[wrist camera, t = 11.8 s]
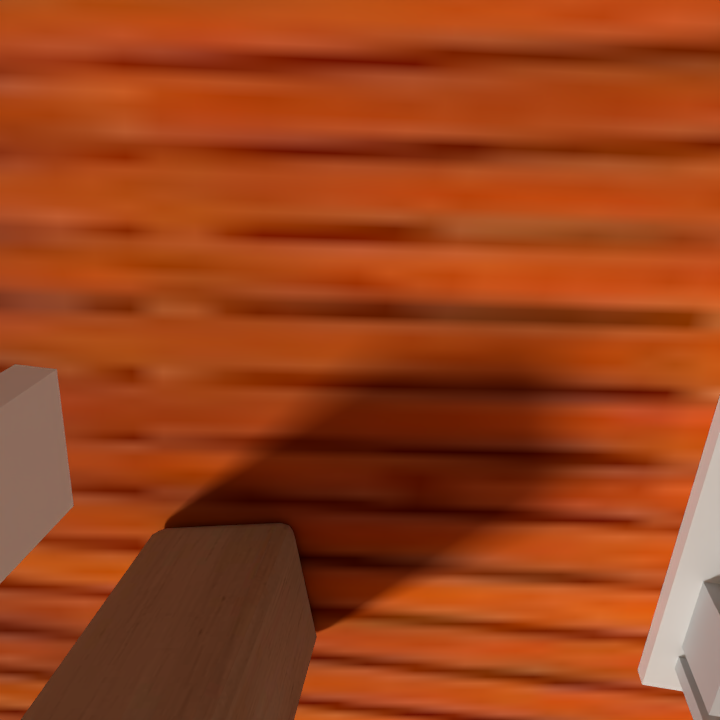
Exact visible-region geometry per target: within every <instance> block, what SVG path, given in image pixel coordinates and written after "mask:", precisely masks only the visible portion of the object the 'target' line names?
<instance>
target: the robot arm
mask: <svg viewBox="0 0 720 720" xmlns="http://www.w3.org/2000/svg"><path fill="white" fill-rule="evenodd" d="M73 506H74V505H73V497H72V489H71V481H70V473H69V465H68V457H67V449H66V441H65V433H64V424H63V416H62V408H61V400H60V392H59V384H58V376H57V369H50V368H41V367H32V366H24V365H13V366H11V367H10V368H8V369H7V370H5V371H3V372H2V373H0V583H1V582H2V581H3V580H4V579H5V578H6V577H7V576H8V575H9V574H10V573H11V572H12V570H13V569H14V568H15V567H16V566H17V565H18V564H19V563H20V562H21V561H22V560H23V559H24V558H25V557H26V556H27V555H28V554H29V552H30V551H31V550H32V549H33V548H34V547H35V546H36V545H37V544H38V543H39V542H40V541H41V540H42V539H43V538H44V537H45V536H46V535H47V533H48V532H49V531H50V530H51V529H52V528H53V527H54V526H55V525H56V524H57V523H58V522H59V521H60V520H61V519H62V518H63V517H64V515H65V514H66V513H67V512H68V511H69V510H70V509H71V508H72V507H73Z"/></svg>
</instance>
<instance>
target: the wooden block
mask: <svg viewBox="0 0 720 720" xmlns="http://www.w3.org/2000/svg"><path fill="white" fill-rule="evenodd" d="M315 640H316V632H315V628H314V623H313V618H312V614H311V609H310V605H309V600H308V595H307V591H306V586H305V581H304V577H303V572H302V568H301V563H300V558H299V554H298V549H297V545H296V540H295V536H294V533H293V530H292V529H291V527H290V526H289V525H286V524H283V523H266V524H245V525H224V526H203V527H181V528H166V529H163V530H161V531H158V532H156V533H155V534H153V535H152V536H151V538H150V539H149V540H148V542H147V543H146V545H145V546H144V547H143V549H142V550H141V552H140V553H139V554H138V556H137V557H136V559H135V560H134V561H133V563H132V564H131V566H130V567H129V568H128V570H127V571H126V573H125V574H124V575H123V577H122V578H121V580H120V581H119V583H118V584H117V585H116V587H115V588H114V590H113V591H112V592H111V594H110V595H109V597H108V598H107V599H106V601H105V602H104V604H103V605H102V606H101V608H100V609H99V611H98V612H97V613H96V615H95V616H94V618H93V619H92V620H91V622H90V623H89V625H88V626H87V628H86V629H85V630H84V632H83V633H82V635H81V636H80V637H79V639H78V640H77V642H76V643H75V644H74V646H73V647H72V649H71V650H70V651H69V653H68V654H67V656H66V657H65V658H64V660H63V661H62V663H61V664H60V665H59V667H58V668H57V670H56V671H55V673H54V674H53V675H52V677H51V678H50V680H49V681H48V682H47V684H46V685H45V687H44V688H43V689H42V691H41V692H40V694H39V695H38V696H37V698H36V699H35V701H34V702H33V703H32V705H31V706H30V708H29V709H28V710H27V712H26V713H25V715H24V716H23V718H22V719H21V720H294V717H295V714H296V710H297V706H298V703H299V699H300V695H301V692H302V688H303V684H304V681H305V677H306V673H307V670H308V666H309V662H310V659H311V655H312V651H313V648H314V644H315Z"/></svg>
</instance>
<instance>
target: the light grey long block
mask: <svg viewBox="0 0 720 720" xmlns="http://www.w3.org/2000/svg"><path fill="white" fill-rule="evenodd" d="M638 673H639V676H640V679H641V683H642V685H648V686H654V687H660V688H666V689H672V690H678V691H683V693H684V695H685V698H686V701H687V704H688V706H689V709H690V712H691V715H692V717H693V720H720V397H719V400H718V404H717V407H716V410H715V414H714V417H713V420H712V424H711V427H710V430H709V434H708V437H707V440H706V444H705V447H704V450H703V454H702V457H701V460H700V464H699V467H698V470H697V474H696V477H695V480H694V484H693V487H692V490H691V494H690V497H689V500H688V504H687V507H686V510H685V514H684V517H683V520H682V524H681V527H680V530H679V534H678V537H677V540H676V544H675V547H674V550H673V554H672V557H671V560H670V564H669V567H668V570H667V574H666V577H665V580H664V584H663V587H662V590H661V594H660V597H659V600H658V604H657V607H656V610H655V614H654V617H653V620H652V624H651V627H650V630H649V634H648V637H647V640H646V644H645V647H644V650H643V654H642V657H641V660H640V664H639V667H638Z"/></svg>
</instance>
